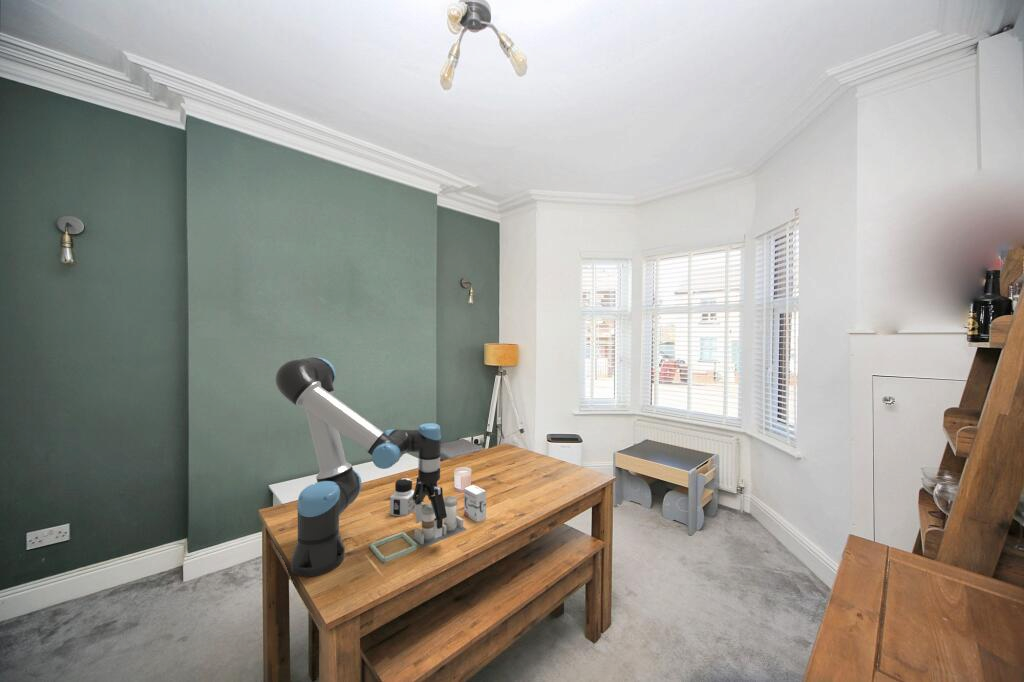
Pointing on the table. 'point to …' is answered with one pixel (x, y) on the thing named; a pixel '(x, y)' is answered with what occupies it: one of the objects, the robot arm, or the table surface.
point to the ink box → (475, 503)
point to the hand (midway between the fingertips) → (428, 528)
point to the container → (402, 498)
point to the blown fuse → (428, 522)
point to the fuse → (450, 513)
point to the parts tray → (395, 555)
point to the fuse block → (420, 537)
